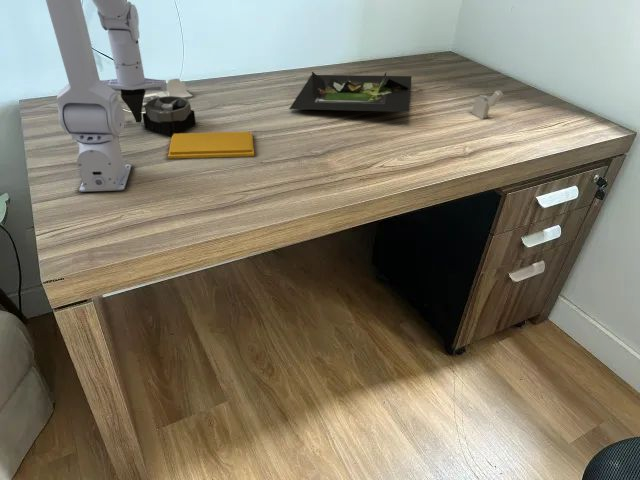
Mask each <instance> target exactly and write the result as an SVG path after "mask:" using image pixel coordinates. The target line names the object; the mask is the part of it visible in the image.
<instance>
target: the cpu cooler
mask: <svg viewBox="0 0 640 480" xmlns="http://www.w3.org/2000/svg"><path fill="white" fill-rule="evenodd" d="M144 111H145V112H144V113H142V121H143V126H144V129H145V130H148V131H151V132H155V133H159V134H161V135H164V136H168V137H170V136H173V134H178V133H184V132H185V131H186V130H189V129H190V128H192V127H195V126H196V125H197V123H196V115H195V113H196V112H195V110H193V109H192V106H191V103H190V101H189V99H188V98H186V99H185V98H182V97H176V96H166V97H157V98H154V99H152V100H150V101H148V102H147V104H146V105H145V106H144Z"/></svg>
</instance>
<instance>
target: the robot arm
mask: <svg viewBox="0 0 640 480" xmlns="http://www.w3.org/2000/svg"><path fill="white" fill-rule="evenodd" d="M45 2H46V6H47V10H48V13H49V17H50V20H51V21H50V22H51V24H52V28H53V31H54V34H55V38H56V42H57V46H58V49H59V52H60V56H61V59H62V60H61V61H62V63H63V67H64V70H65V75H66V77H67V81H68V84H67V85H65V87H63V88H62V89H61V90H60V91H59V92H58V94H57V96H56V104H57V109H58V115H57V116H58V122H59V124H60V127H61V129H62V130H63V131H64V132H65V133H66V134H68V135H70V136H71V139H72V140H74V141H76V143H77V147H78V155H77V159H76V165H77V168H78V171H79V174H80V178H81V184H80V187H79V189H78V190H79V192H81V193H87V192H88V193H89V192H111V191H124V190H125V189H126V185H127V182H128V178H129V176H130V172H131V169H132V165H131V164H125V161H124V160H125V159H124V156H123V151H122V146H121V142H120V137H119V136H120V135H121V134H122V133H123V131H124V128H125V121H126V119H125V111H124V108H123V106H122V104H121V102H120V100H119V99H121V100H122V101H123V102H124V103H125V104H126V106H127V107H128V109H129V110H130V112H131V114H132V116H133V118H134V121H135V123H142V121H143V113H142V112H143V107H142V105H143V99H144V95H145V94H146V91H160V92H162V91H166V90H167V85H166V84H167V79H155V78H149V77H148V78H147V77H145V73H144V72H145V71H144V66H143V60H142V55H141V54H142V53H141V49H140V42H139V39H140V29H139V28H140V27H139V25H140V24H139V23H140V19H139V13H138V9H137V7H136V4H132V2H131V1H127V0H91V2H93V4H94V6H95V7H96V13H97V15H98V18H99V22H100V25H101V28H102V29H103V30H104V31H107V35H108V40H109V47H110V49H111V55H112V59H113V65H114V69H115V74H116V78H113V79H112V78H111V79H102V80H101V79H100V75H99V71H98V67H97V66H98V65H97V63H96V57H95V55H94V50H93V46H92V41H91V37H90V34H89V30H88V26H87V21H86V17H85V12H84V9H83V8H84V7H83V5H82V0H45ZM117 91H118V92H120V98H119V95H118V94H117Z"/></svg>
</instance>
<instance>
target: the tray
mask: <svg viewBox="0 0 640 480" xmlns="http://www.w3.org/2000/svg"><path fill="white" fill-rule="evenodd" d="M169 144H170V145H169V149H168V155H167V158H168V159H169V160H177V159H178V160H179V159H202V158H203V159H205V158H208V159H209V158H210V159H211V158H237V157H241V158H242V157H255V150H254V148H255V147H254V139H253V133H251V131H225V132H223V131H221V132H219V131H218V132H181V133H178V134H173V135H171V139H170V143H169Z"/></svg>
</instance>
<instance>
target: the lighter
mask: <svg viewBox="0 0 640 480" xmlns="http://www.w3.org/2000/svg"><path fill="white" fill-rule="evenodd" d="M503 95H504V93H503V92H502V90H501V89H498V90H495V91H494V93H493V94H492V95H491V97H490V98H489V97H488V95H485V94H480V95H479V96H475V97H474V102H473V105H472V110H471V114H472V115H474V116H476V117H478V118H480V119H482V120H483V119H487V118H488V115H489V111H490V107H494V106H496V104H497V103H498V102H499V100H500V99H501V98H502V97H503Z"/></svg>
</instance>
